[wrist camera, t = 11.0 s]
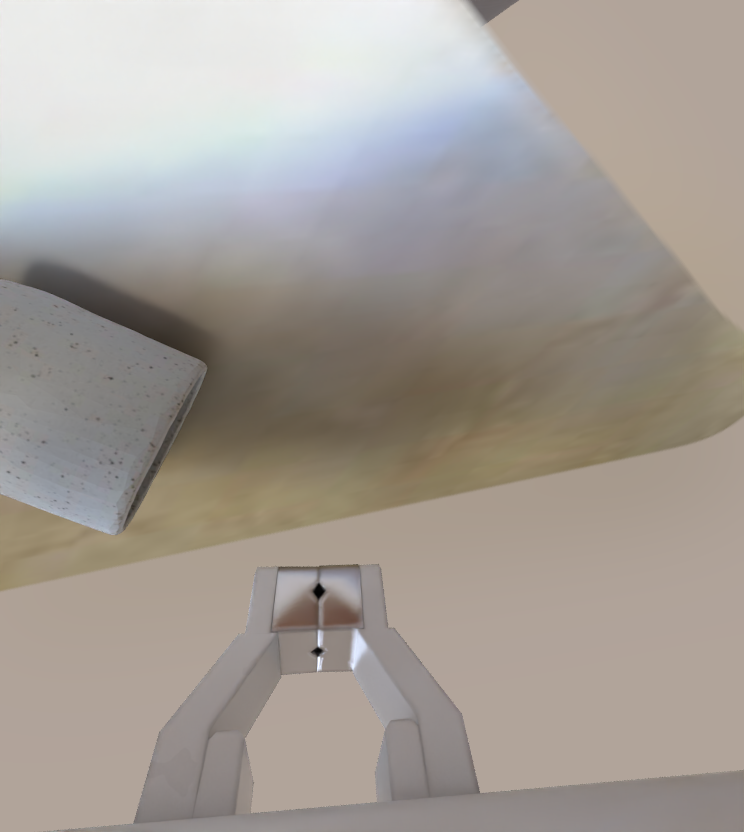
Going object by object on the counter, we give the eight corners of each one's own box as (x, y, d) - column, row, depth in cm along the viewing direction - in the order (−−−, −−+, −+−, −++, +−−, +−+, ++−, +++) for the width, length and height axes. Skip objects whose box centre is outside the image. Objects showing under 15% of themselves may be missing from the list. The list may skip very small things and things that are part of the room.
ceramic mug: (15, 240, 16) (-183, 308, 10) (223, 335, 19) (172, 436, 13) (-16, 438, 21) (-165, 571, 15) (155, 491, 24) (93, 622, 18)
